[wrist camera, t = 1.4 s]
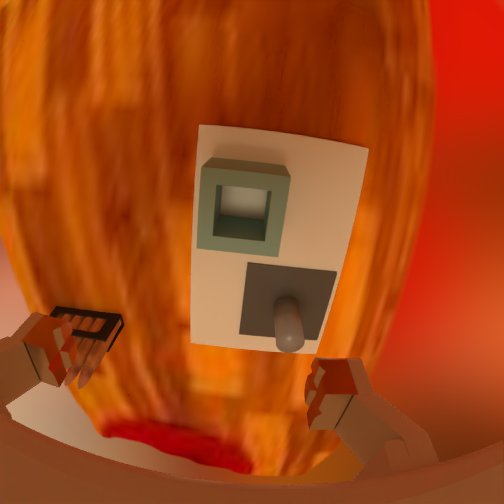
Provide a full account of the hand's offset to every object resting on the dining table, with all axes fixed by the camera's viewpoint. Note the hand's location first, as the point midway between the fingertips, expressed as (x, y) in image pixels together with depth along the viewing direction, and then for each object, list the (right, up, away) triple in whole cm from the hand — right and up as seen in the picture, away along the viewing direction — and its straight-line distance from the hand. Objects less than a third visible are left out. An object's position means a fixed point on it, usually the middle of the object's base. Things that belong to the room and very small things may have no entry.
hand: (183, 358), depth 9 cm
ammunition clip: (-19, -5, +27) cm, 33 cm away
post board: (+4, +3, +22) cm, 22 cm away
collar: (+1, +8, +18) cm, 20 cm away
